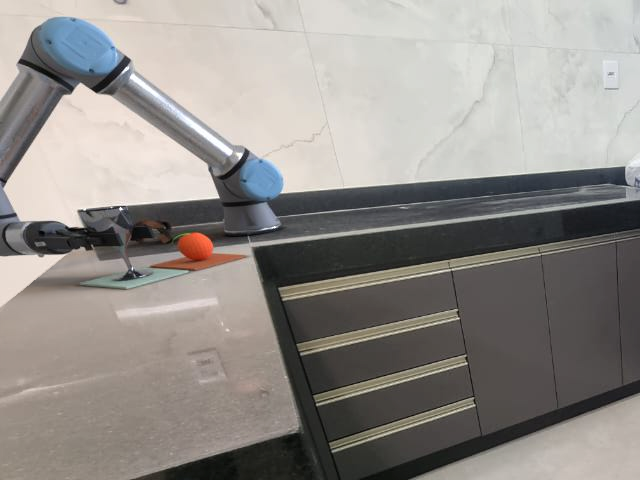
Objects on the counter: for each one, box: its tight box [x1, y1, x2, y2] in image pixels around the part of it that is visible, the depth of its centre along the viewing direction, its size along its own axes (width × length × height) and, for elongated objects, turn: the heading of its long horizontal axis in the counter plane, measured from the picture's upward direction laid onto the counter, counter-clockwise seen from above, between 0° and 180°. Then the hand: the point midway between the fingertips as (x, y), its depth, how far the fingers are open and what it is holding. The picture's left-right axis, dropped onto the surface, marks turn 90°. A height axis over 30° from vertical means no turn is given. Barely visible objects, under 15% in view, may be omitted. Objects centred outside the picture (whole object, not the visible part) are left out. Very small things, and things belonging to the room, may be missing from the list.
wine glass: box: [77, 205, 153, 280], centre depth 119 cm, size 8×8×15 cm
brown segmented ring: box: [129, 217, 174, 244], centre depth 160 cm, size 12×10×8 cm
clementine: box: [171, 231, 214, 260], centre depth 133 cm, size 8×7×7 cm
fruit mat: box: [149, 252, 247, 272], centre depth 135 cm, size 13×16×1 cm
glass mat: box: [79, 266, 189, 290], centre depth 122 cm, size 13×16×1 cm
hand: (135, 235), depth 118 cm, fingers closed on wine glass, 7 cm apart
